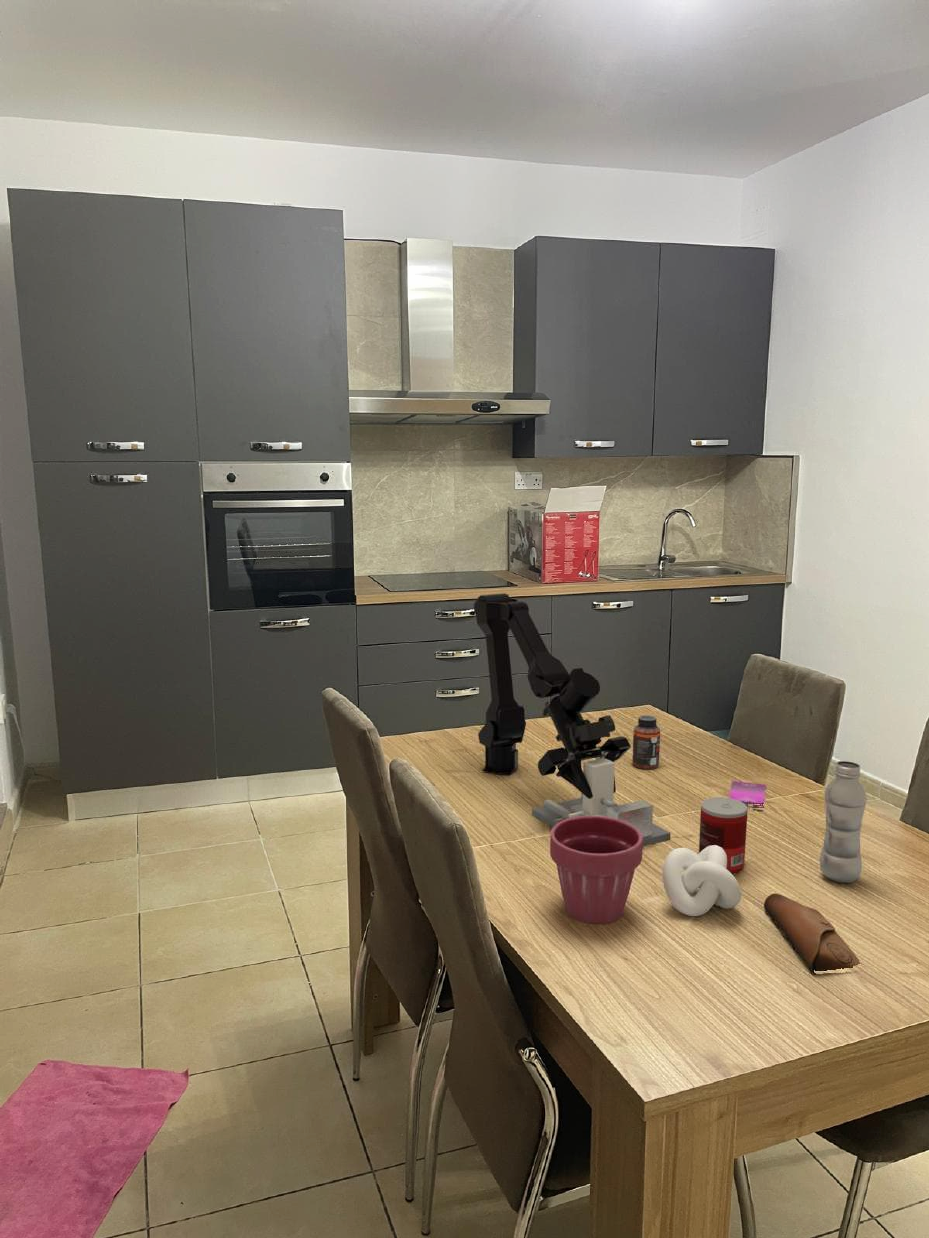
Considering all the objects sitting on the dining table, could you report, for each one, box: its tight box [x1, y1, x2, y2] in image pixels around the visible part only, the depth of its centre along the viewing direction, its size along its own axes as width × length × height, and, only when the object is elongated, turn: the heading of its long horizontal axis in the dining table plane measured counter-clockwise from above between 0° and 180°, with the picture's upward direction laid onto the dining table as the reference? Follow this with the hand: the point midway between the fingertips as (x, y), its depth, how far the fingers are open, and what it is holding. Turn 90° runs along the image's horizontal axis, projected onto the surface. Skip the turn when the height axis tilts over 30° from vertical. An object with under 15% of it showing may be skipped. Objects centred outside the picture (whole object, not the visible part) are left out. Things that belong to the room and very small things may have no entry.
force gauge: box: [568, 758, 616, 817], centre depth 173 cm, size 8×10×11 cm
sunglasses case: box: [763, 893, 861, 973], centre depth 135 cm, size 18×7×7 cm
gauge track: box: [531, 792, 671, 847], centre depth 175 cm, size 22×16×2 cm
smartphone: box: [728, 780, 767, 812], centre depth 190 cm, size 7×15×1 cm, turn 160°
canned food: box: [698, 796, 748, 875], centre depth 158 cm, size 8×8×11 cm
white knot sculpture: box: [662, 845, 742, 917], centre depth 144 cm, size 11×12×9 cm
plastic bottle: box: [819, 760, 868, 884], centre depth 152 cm, size 6×7×20 cm
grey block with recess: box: [607, 799, 654, 838], centre depth 167 cm, size 3×8×6 cm, turn 119°
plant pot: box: [549, 816, 644, 925], centre depth 142 cm, size 14×14×13 cm
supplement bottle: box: [632, 715, 661, 770], centre depth 207 cm, size 6×6×11 cm
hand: (602, 795), depth 173 cm, fingers closed on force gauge, 5 cm apart
